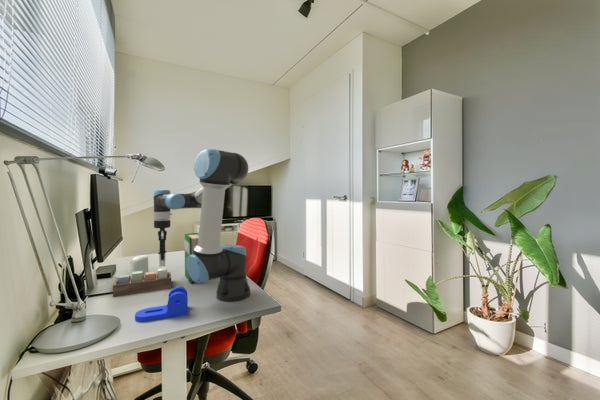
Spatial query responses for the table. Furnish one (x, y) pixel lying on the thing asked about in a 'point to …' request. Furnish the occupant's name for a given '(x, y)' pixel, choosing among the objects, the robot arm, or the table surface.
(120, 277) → the light blue cube
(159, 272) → the white cube
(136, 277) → the light green cube
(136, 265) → the photo printer
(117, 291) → the wooden compartment tray
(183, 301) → the bracket
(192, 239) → the hardback book
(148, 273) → the peach cube
